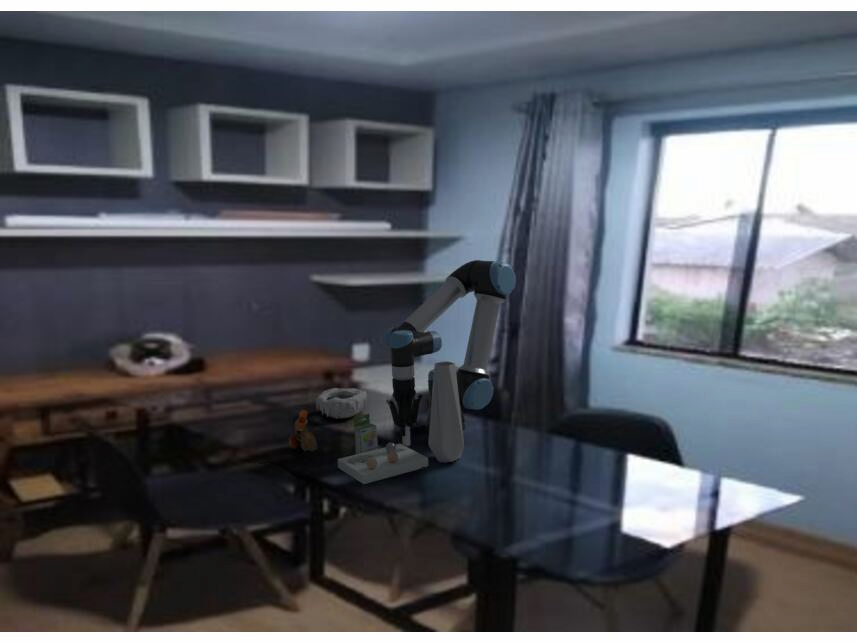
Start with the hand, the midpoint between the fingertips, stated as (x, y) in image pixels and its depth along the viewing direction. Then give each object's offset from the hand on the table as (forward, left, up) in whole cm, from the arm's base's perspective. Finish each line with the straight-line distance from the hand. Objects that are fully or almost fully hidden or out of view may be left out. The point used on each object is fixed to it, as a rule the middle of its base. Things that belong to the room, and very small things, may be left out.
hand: (406, 444), depth 264 cm
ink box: (+9, -12, -5) cm, 16 cm away
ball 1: (+18, +8, 0) cm, 20 cm away
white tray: (+11, +3, -5) cm, 12 cm away
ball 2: (+10, +8, 0) cm, 13 cm away
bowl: (-4, -57, -5) cm, 57 cm away
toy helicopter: (+25, -27, -5) cm, 37 cm away
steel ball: (+6, 0, 0) cm, 6 cm away
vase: (-10, +11, -5) cm, 16 cm away
